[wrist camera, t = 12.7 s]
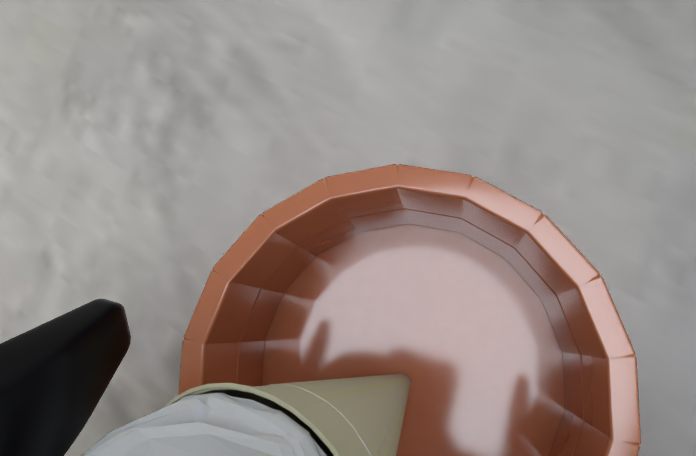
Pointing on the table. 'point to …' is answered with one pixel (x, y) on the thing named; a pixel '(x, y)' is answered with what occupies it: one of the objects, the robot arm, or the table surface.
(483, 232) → the bowl
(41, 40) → the table surface
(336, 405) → the ice cream cone
